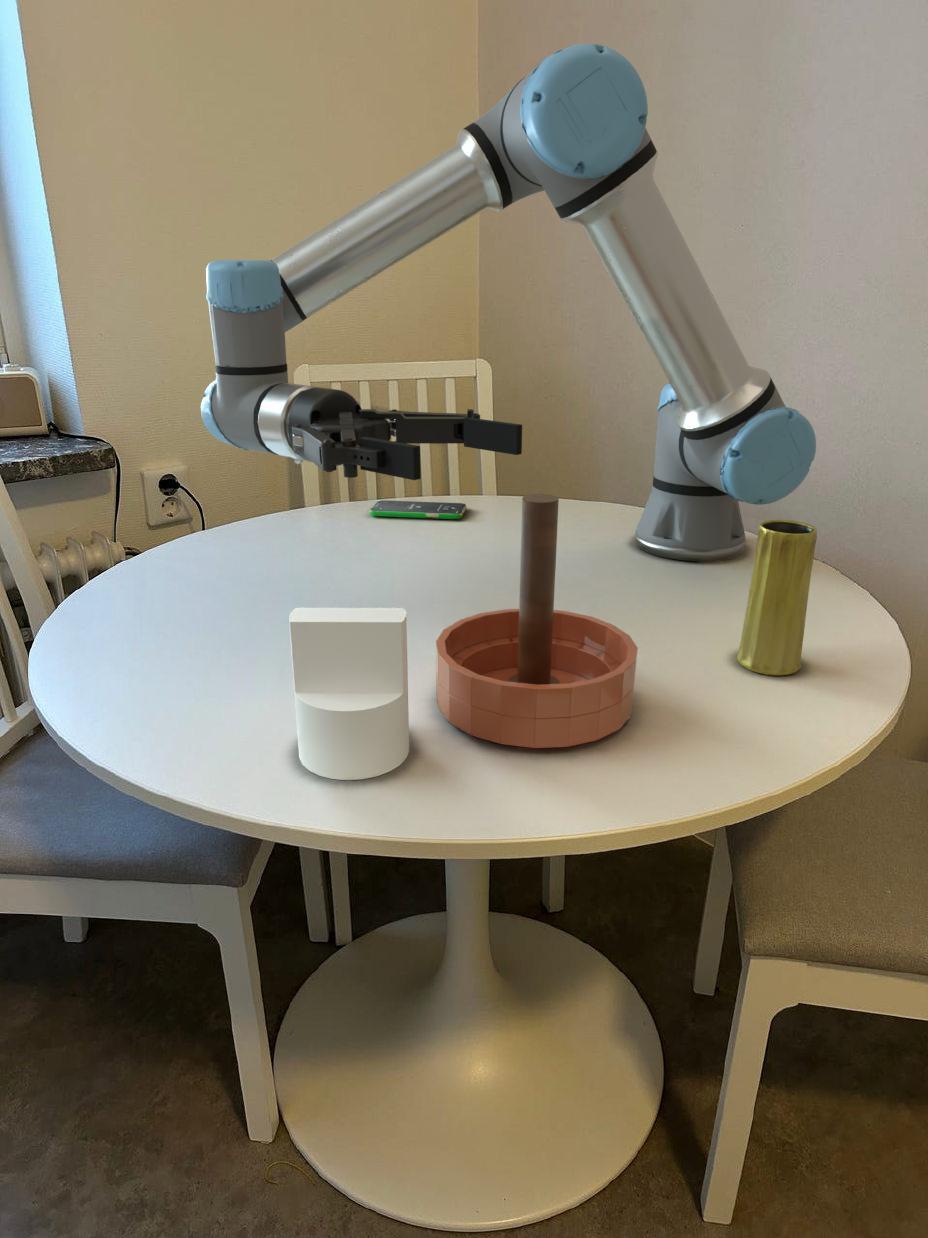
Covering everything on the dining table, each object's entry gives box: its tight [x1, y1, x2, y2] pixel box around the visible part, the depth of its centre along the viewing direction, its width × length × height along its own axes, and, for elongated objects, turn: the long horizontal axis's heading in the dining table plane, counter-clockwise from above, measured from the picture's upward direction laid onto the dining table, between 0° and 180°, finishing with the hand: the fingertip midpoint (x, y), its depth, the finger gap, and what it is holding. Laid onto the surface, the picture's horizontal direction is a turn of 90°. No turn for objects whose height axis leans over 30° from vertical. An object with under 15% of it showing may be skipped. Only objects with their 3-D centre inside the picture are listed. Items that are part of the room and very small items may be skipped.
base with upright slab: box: [288, 607, 410, 781], centre depth 70 cm, size 9×9×12 cm
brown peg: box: [507, 493, 560, 685], centre depth 76 cm, size 5×5×19 cm
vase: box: [736, 519, 818, 677], centre depth 85 cm, size 6×6×14 cm
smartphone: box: [368, 499, 467, 520], centre depth 142 cm, size 8×1×15 cm
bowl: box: [435, 608, 638, 749], centre depth 78 cm, size 18×18×6 cm
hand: (472, 450), depth 76 cm, fingers open, 13 cm apart
